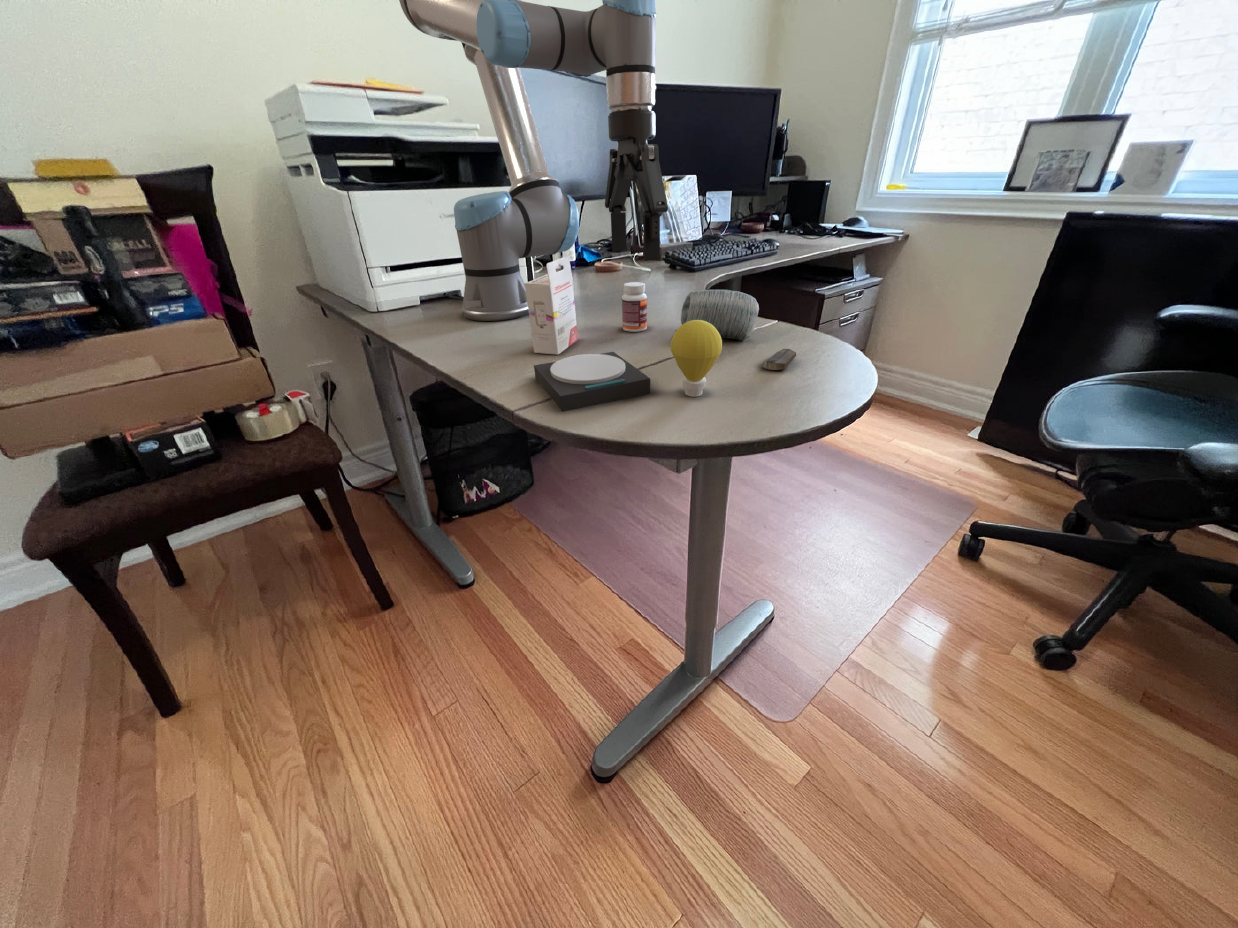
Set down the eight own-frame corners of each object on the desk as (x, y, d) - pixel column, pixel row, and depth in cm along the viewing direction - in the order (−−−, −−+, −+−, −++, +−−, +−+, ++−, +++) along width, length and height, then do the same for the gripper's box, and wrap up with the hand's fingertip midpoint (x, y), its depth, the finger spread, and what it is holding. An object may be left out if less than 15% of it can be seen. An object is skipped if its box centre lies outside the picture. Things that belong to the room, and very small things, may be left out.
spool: (665, 322, 87) (690, 267, 84) (681, 333, 95) (704, 283, 93) (734, 351, 82) (762, 294, 80) (744, 360, 91) (770, 308, 88)
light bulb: (660, 390, 69) (661, 319, 64) (698, 380, 72) (702, 311, 67) (688, 407, 64) (692, 331, 59) (728, 396, 67) (735, 322, 62)
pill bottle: (645, 332, 93) (644, 286, 89) (620, 332, 94) (619, 286, 90) (648, 325, 97) (648, 281, 93) (625, 325, 98) (624, 281, 94)
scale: (535, 379, 74) (533, 361, 73) (614, 364, 79) (613, 347, 77) (561, 411, 64) (559, 391, 63) (650, 393, 68) (650, 374, 67)
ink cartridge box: (554, 338, 92) (545, 254, 84) (578, 340, 90) (571, 254, 83) (532, 353, 85) (520, 262, 77) (558, 355, 83) (548, 263, 76)
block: (796, 361, 77) (798, 350, 76) (783, 373, 73) (785, 361, 72) (773, 357, 79) (775, 346, 78) (760, 368, 75) (761, 357, 74)
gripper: (693, 100, 69) (688, 261, 80) (621, 118, 89) (625, 246, 99) (645, 100, 66) (646, 266, 77) (582, 119, 86) (590, 249, 97)
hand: (634, 255), depth 88 cm, fingers open, 13 cm apart
